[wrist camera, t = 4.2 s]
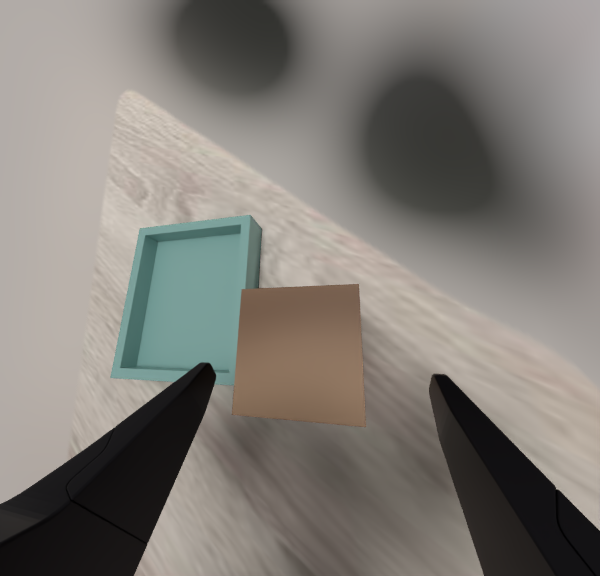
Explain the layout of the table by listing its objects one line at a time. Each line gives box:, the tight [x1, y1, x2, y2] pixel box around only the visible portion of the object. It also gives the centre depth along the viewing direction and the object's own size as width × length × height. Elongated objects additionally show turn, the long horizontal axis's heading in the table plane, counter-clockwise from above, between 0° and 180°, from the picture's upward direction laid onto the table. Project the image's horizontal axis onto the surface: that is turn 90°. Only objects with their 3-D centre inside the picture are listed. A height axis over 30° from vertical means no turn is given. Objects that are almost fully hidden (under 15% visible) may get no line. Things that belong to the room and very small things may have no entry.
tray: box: [110, 215, 262, 385], centre depth 20 cm, size 14×12×2 cm
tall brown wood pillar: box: [232, 284, 366, 427], centre depth 13 cm, size 4×4×10 cm
